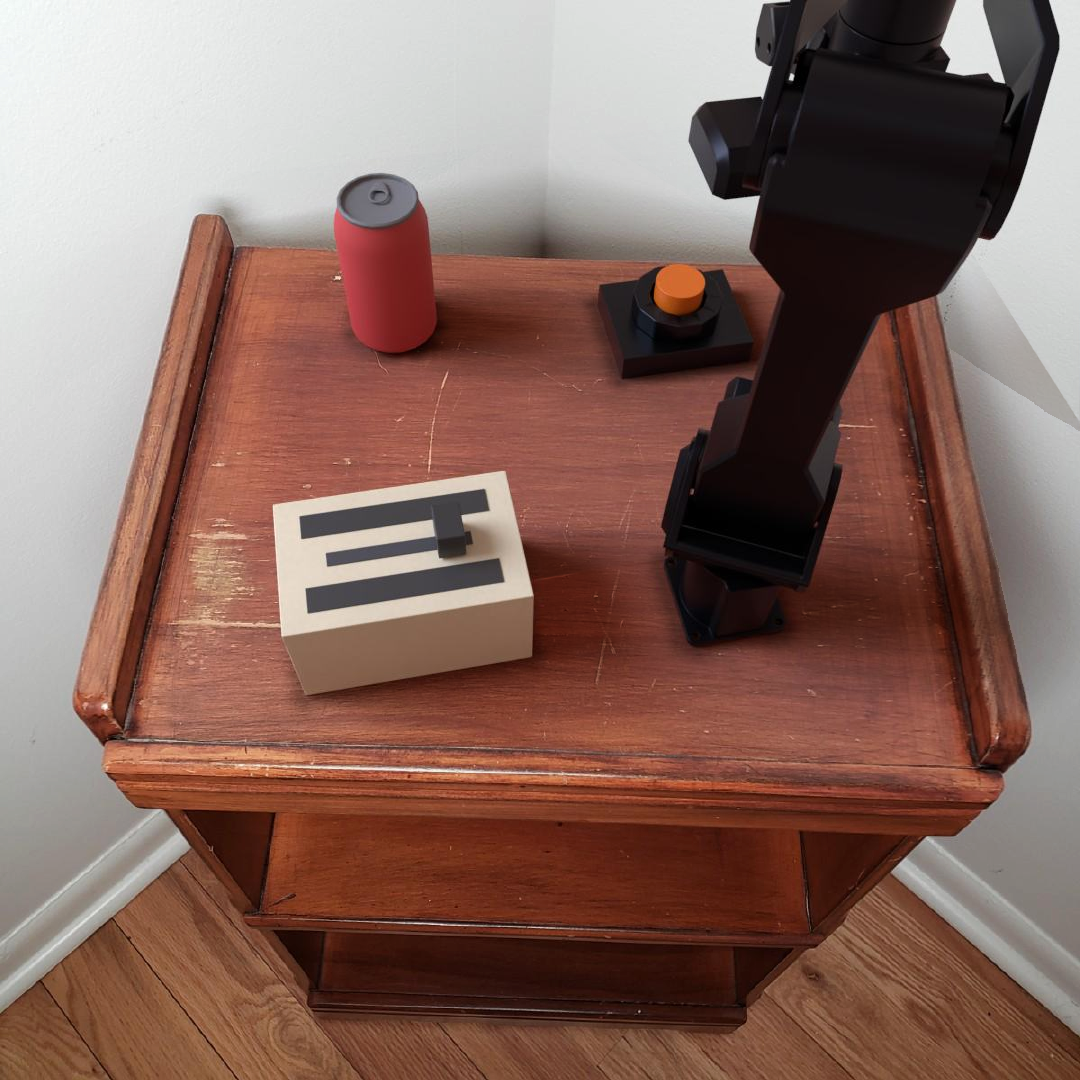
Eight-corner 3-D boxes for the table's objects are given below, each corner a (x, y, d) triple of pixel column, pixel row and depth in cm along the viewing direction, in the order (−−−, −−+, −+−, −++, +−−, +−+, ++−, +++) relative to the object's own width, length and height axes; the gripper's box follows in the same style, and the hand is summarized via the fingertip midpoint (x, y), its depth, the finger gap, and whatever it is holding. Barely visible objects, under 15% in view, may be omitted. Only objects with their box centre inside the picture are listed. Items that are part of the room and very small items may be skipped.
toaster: (532, 657, 63) (534, 595, 57) (305, 695, 61) (281, 636, 55) (506, 538, 68) (505, 469, 62) (295, 571, 66) (272, 503, 60)
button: (707, 312, 75) (711, 294, 74) (660, 318, 75) (663, 300, 73) (694, 279, 77) (697, 261, 76) (648, 285, 77) (650, 267, 75)
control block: (748, 362, 77) (759, 324, 74) (621, 379, 76) (626, 341, 73) (718, 290, 82) (726, 250, 78) (597, 305, 80) (600, 266, 77)
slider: (466, 554, 58) (465, 535, 56) (438, 559, 58) (436, 539, 56) (460, 520, 59) (458, 500, 58) (433, 524, 59) (430, 505, 57)
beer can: (440, 297, 80) (430, 168, 70) (434, 359, 77) (421, 231, 67) (357, 295, 80) (335, 165, 70) (347, 356, 77) (322, 228, 67)
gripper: (990, -75, 59) (904, 156, 72) (682, -49, 57) (651, 185, 70) (1082, 31, 53) (970, 262, 66) (741, 64, 51) (695, 297, 64)
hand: (819, 247), depth 67 cm, fingers closed
